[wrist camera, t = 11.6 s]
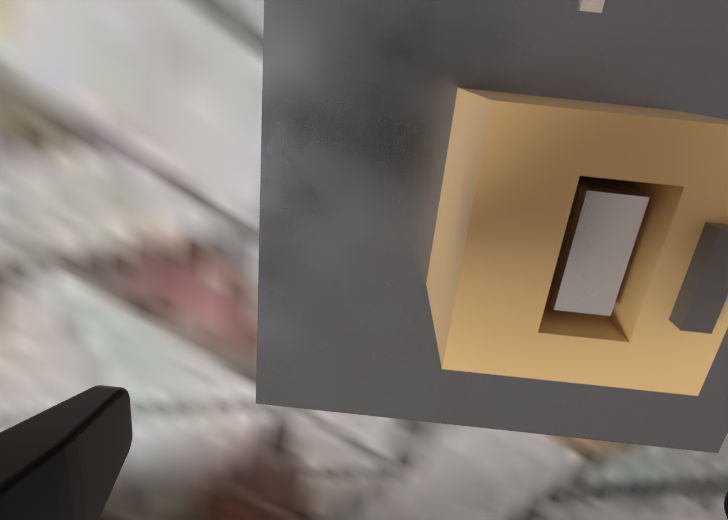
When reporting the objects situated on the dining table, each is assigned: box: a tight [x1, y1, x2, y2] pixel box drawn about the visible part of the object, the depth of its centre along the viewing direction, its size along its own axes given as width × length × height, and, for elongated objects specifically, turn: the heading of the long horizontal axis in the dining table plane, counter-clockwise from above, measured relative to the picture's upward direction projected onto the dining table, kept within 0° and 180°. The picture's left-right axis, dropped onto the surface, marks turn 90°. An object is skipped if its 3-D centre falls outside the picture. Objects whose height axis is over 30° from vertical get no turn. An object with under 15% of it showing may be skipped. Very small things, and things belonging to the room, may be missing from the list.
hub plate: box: [256, 0, 728, 453], centre depth 14 cm, size 18×18×6 cm
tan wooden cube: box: [426, 88, 728, 396], centre depth 13 cm, size 6×6×6 cm
